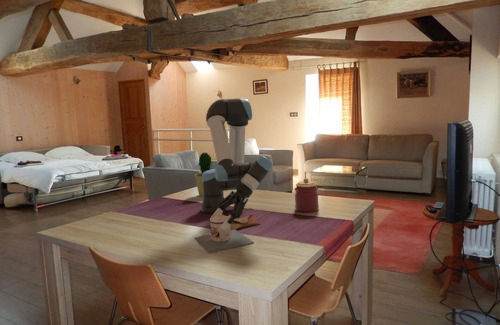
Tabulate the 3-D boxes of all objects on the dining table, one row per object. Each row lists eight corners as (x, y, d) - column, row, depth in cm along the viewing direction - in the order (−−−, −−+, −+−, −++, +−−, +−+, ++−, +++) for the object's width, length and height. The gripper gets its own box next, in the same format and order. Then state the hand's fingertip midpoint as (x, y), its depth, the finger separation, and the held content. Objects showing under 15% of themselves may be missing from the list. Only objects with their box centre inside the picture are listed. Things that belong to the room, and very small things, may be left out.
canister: (311, 205, 216) (311, 175, 213) (323, 210, 204) (322, 178, 201) (291, 208, 212) (290, 177, 209) (301, 214, 200) (300, 181, 197)
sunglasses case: (231, 232, 176) (227, 218, 177) (225, 236, 181) (221, 223, 183) (262, 224, 186) (257, 211, 188) (255, 228, 191) (251, 215, 193)
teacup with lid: (207, 238, 167) (205, 213, 165) (224, 233, 172) (222, 209, 170) (221, 245, 157) (220, 218, 155) (239, 240, 163) (238, 214, 161)
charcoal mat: (194, 238, 169) (194, 237, 169) (235, 230, 178) (235, 229, 178) (209, 253, 151) (209, 251, 151) (253, 243, 160) (253, 241, 160)
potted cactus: (209, 199, 245) (206, 153, 240) (191, 197, 253) (188, 152, 249) (223, 193, 257) (220, 150, 253) (206, 192, 266) (203, 150, 262)
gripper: (265, 196, 157) (234, 237, 153) (241, 186, 179) (213, 222, 175) (253, 185, 154) (221, 227, 150) (230, 177, 176) (201, 213, 172)
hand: (217, 225), depth 162 cm, fingers open, 13 cm apart
